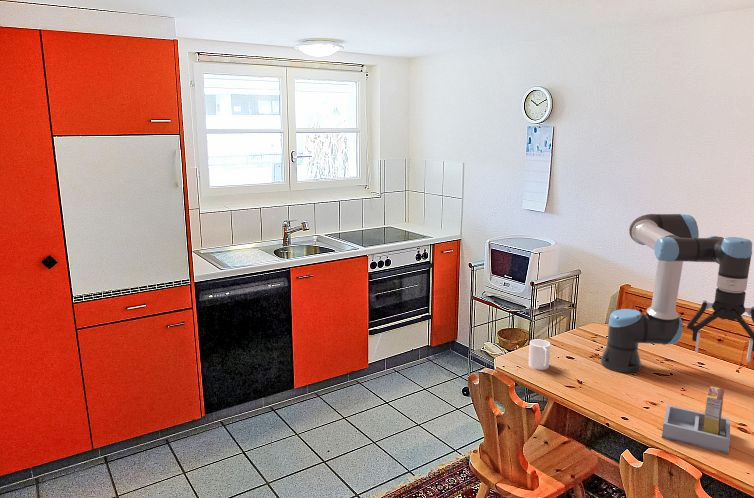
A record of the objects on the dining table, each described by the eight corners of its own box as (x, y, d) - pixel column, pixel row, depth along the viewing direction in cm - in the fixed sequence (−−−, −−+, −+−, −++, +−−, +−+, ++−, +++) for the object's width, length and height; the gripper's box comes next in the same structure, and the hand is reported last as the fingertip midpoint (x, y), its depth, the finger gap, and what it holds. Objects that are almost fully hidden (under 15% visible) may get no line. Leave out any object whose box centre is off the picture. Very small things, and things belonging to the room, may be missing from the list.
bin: (661, 437, 176) (663, 423, 175) (665, 418, 188) (667, 404, 187) (727, 454, 167) (730, 439, 166) (727, 432, 179) (729, 418, 178)
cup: (535, 374, 222) (537, 351, 220) (525, 361, 234) (526, 339, 232) (555, 373, 223) (557, 350, 220) (544, 361, 234) (546, 338, 232)
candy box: (704, 428, 180) (710, 385, 177) (719, 432, 178) (725, 389, 174) (700, 440, 173) (706, 396, 170) (716, 445, 171) (722, 400, 167)
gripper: (682, 286, 168) (675, 351, 173) (783, 299, 155) (772, 369, 160) (684, 280, 174) (676, 343, 179) (781, 292, 161) (770, 359, 166)
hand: (721, 355), depth 169 cm, fingers open, 13 cm apart
